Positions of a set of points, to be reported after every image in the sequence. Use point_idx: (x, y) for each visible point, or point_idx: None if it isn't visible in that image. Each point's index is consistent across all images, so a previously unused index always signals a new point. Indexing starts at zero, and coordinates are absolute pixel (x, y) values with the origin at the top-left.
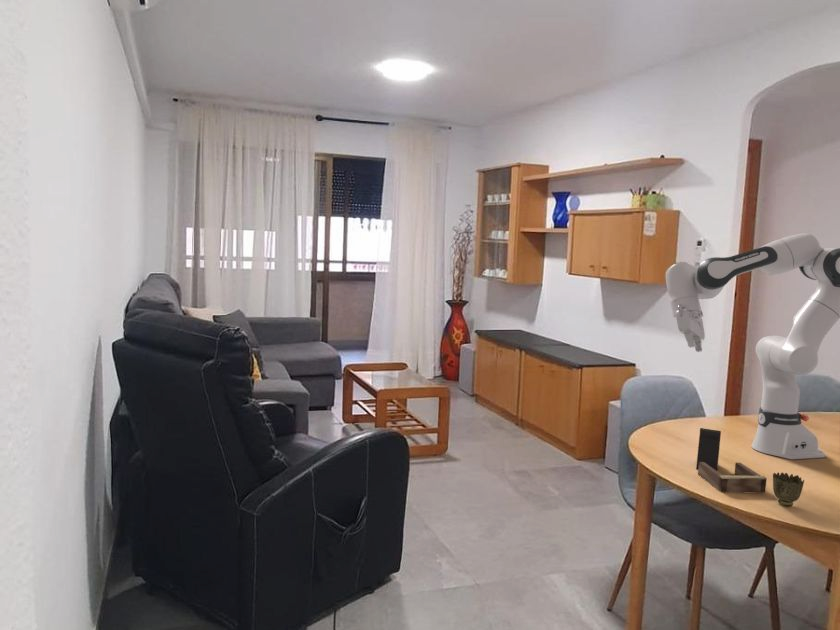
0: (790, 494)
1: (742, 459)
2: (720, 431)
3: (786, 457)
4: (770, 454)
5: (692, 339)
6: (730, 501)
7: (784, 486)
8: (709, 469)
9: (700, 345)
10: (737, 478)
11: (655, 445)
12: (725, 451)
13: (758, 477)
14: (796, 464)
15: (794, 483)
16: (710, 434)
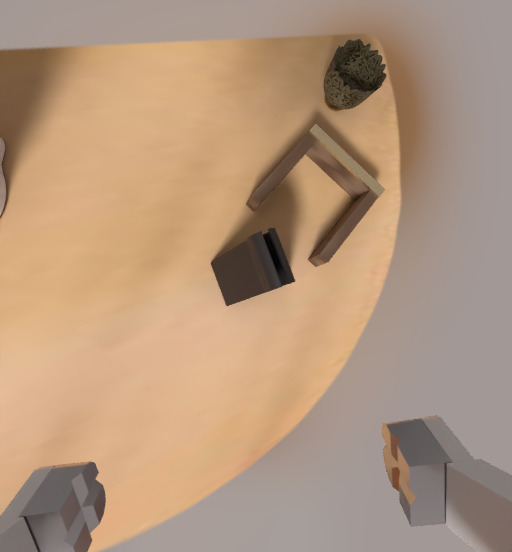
0: (365, 74)
1: (115, 233)
2: (261, 232)
3: (3, 149)
4: (5, 188)
5: (497, 468)
6: (393, 175)
7: (378, 75)
8: (354, 227)
9: (16, 527)
10: (360, 168)
11: (192, 440)
12: (78, 288)
13: (327, 136)
14: (37, 123)
15: (377, 54)
16: (284, 253)
